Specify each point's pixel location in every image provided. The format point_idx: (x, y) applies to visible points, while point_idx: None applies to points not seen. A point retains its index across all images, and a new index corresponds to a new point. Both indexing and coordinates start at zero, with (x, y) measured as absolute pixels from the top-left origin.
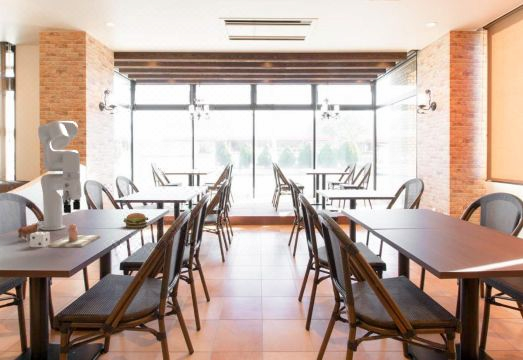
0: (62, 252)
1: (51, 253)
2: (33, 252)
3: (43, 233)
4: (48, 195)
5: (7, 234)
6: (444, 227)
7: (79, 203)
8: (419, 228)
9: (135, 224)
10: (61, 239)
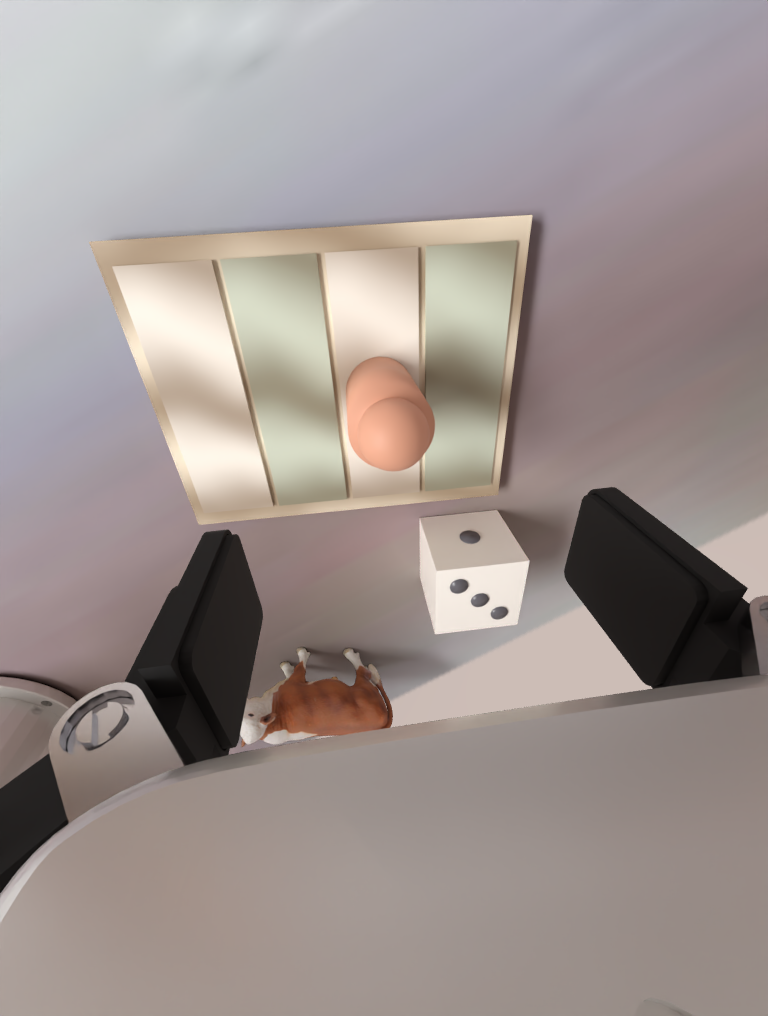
0: (679, 302)
1: (684, 368)
2: (622, 487)
3: (495, 574)
4: None
5: None
6: None
7: (189, 623)
8: None
9: None
10: (346, 498)
